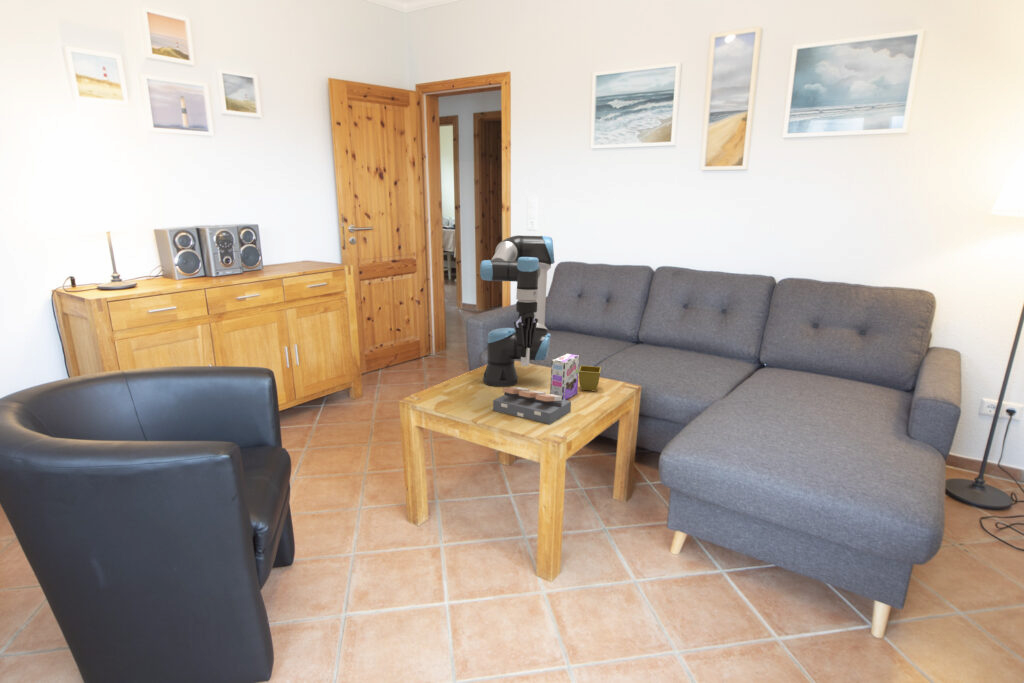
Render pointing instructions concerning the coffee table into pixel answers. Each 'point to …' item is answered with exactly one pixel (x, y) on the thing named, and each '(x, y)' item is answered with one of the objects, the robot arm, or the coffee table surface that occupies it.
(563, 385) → the candy box
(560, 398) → the rocker right
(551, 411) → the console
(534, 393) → the rocker middle
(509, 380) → the robot arm
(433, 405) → the coffee table surface
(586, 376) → the flower pot
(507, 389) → the rocker left
